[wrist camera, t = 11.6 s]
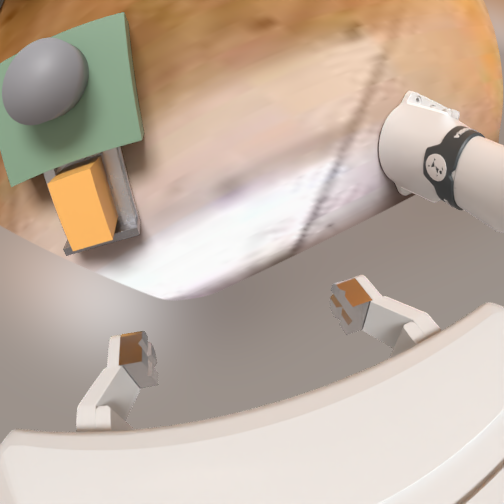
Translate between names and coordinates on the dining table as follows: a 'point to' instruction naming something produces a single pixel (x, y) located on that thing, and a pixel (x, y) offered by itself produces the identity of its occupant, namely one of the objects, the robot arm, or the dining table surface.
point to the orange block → (84, 203)
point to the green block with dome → (68, 98)
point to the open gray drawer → (120, 192)
